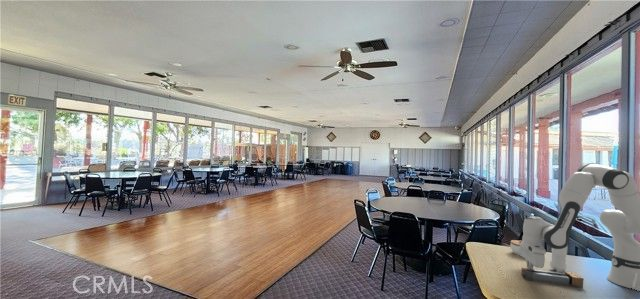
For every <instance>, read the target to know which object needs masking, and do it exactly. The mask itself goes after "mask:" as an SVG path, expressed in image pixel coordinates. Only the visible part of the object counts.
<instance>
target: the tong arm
mask: <svg viewBox="0 0 640 299" xmlns="http://www.w3.org/2000/svg"><path fill="white" fill-rule="evenodd" d="M524 271H531V272H537V273H545V274H552V275H560V276H567V274H566V273H564V272H557V271H553V270H552V271H550V270H544V269H542V270H541V269H537V268H536V269H534V268H533V269H528V268H527V267H521V276H522V277H523V278H524Z"/></svg>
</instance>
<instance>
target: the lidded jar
mask: <svg viewBox="0 0 640 299" xmlns="http://www.w3.org/2000/svg"><path fill="white" fill-rule="evenodd" d="M520 243H522V239H521V240H516V239H512V240H510V249H511V251H512V253H513V254H515V255H516V254H517V256H519V255H520V254H519V247H520ZM520 256H521V255H520ZM521 257H522V256H521Z"/></svg>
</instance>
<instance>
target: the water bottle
mask: <svg viewBox="0 0 640 299" xmlns="http://www.w3.org/2000/svg"><path fill="white" fill-rule="evenodd" d="M567 256H568V246H567V247H565V248H563V249H554V248H551V260H550V270H552V271H555V272H560V273H564V271H567V264H566V262H567V260H566V258H567Z"/></svg>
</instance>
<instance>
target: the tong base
mask: <svg viewBox="0 0 640 299" xmlns="http://www.w3.org/2000/svg"><path fill="white" fill-rule="evenodd" d="M563 273H566V274H567V276H560V275H552V274H545V273H537V272H531V271H524V277H523V279H524V280H526V281H531V282H532V281H533V282H541V283H548V284H552V285H553V284H555V285H563V286H569V287H570V286H571V287H575V288H581V289H583V288H584V281H585V280H584V277H582V276H581V275H579V274H578V273H576V272H574V271H567V270H565V271H564V272H563Z"/></svg>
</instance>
